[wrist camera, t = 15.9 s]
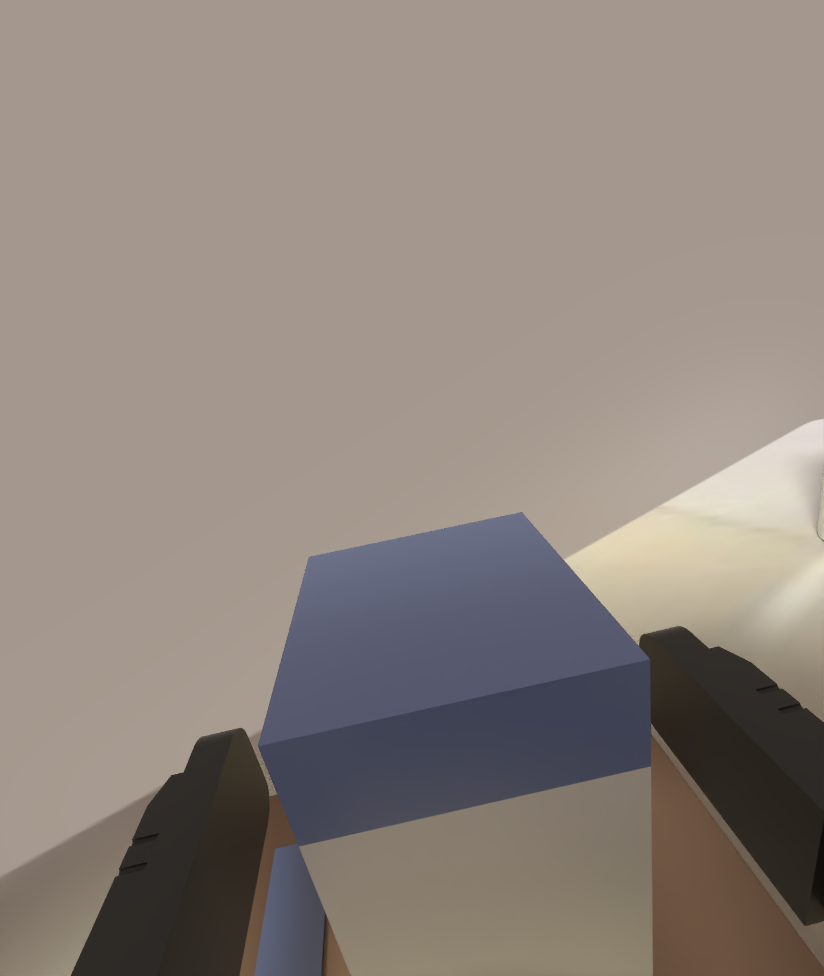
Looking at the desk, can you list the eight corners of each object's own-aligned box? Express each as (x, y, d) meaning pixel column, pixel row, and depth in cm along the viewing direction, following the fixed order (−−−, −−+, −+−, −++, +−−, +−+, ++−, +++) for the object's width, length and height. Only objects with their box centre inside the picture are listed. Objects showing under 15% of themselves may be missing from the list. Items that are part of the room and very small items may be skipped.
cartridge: (444, 1205, 8) (257, 745, 4) (420, 932, 12) (308, 557, 8) (654, 1153, 8) (650, 659, 5) (565, 898, 12) (522, 512, 8)
